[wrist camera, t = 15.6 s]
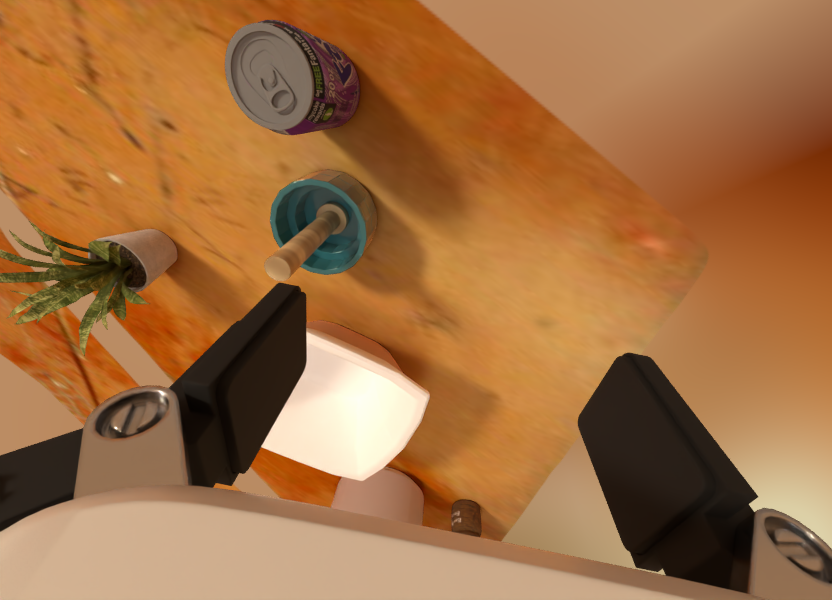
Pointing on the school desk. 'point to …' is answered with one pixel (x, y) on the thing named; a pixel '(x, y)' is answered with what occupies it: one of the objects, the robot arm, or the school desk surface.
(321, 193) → the mixing bowl
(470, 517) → the utensil holder
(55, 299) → the house plant
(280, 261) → the muddler
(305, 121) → the beverage can
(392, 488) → the container
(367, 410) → the bowl
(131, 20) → the school desk surface
